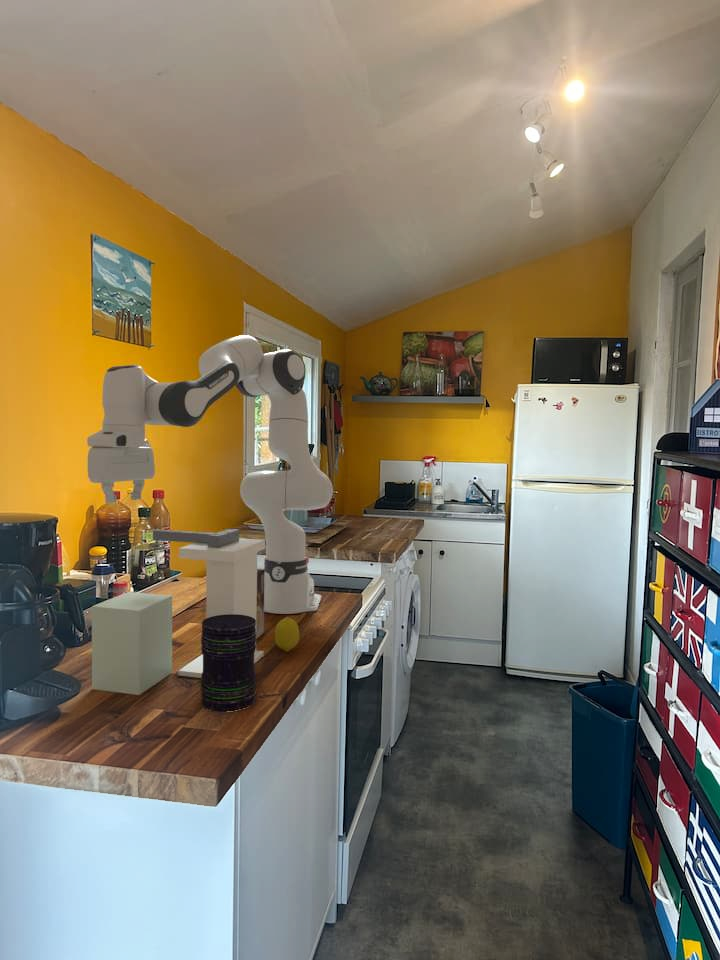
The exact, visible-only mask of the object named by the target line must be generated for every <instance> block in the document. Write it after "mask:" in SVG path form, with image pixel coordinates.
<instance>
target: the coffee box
mask: <svg viewBox="0 0 720 960" xmlns="http://www.w3.org/2000/svg"><path fill="white" fill-rule="evenodd" d="M264 570H265V569H264V568H263V569H261V568H257V613H256V640H257V639H258V638H259V637H261V636H262V635H263V634H264V633H265V611H264V573H265V571H264Z"/></svg>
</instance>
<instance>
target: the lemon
mask: <svg viewBox="0 0 720 960" xmlns="http://www.w3.org/2000/svg"><path fill="white" fill-rule="evenodd" d="M299 640H300V629H299V625H298V623H297V622H296V621H295V620H293V618H290V617H289V616H286V617H285V618H282V619H281V620H279V621H278V623H277V624H276V625H275V629H274V641H275V644H276V646H277V647H278V648H280V649H282V650H283V651H284V652H286V653H289V651H291V650H292V649H294V648H295V647H296V646H297V645H298V642H299Z"/></svg>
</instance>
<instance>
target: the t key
mask: <svg viewBox="0 0 720 960" xmlns="http://www.w3.org/2000/svg"><path fill="white" fill-rule="evenodd" d="M239 538H240V529H236V528H235V529H234V528H228V529H225V530H221V531H219V532H205V531H204V532H203V531H188V530H170V529H155V530H152V541H161V542H163V541H164V542H177V543H178V542H179V543H190V544H194V543H206V544H208V547H211V548H220V547H223V546H226V545H228V544H231V543H234V542H237V541H239Z"/></svg>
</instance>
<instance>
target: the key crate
mask: <svg viewBox="0 0 720 960" xmlns="http://www.w3.org/2000/svg"><path fill="white" fill-rule="evenodd" d="M172 673H173V595H168V594H158V593H147V592H145V593H144V592H132V591H127V592H124V593H122V594H118V595H117V596H114V597H112V598H110V599H106V600H103V601H102V602H99V603H97V604H94V605H92V606H91V690H97V691H103V692H112V693H120V694H128V695H133V696H134V695H136V696H140V695H142V694H143V693H144V692H146V691H147V690H149V689H151V688H152V687H153V686H155V685H157V683H159V682H160V681H162V680H164V679H165V678H166V677H168V676H169V675H171V674H172Z"/></svg>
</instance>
